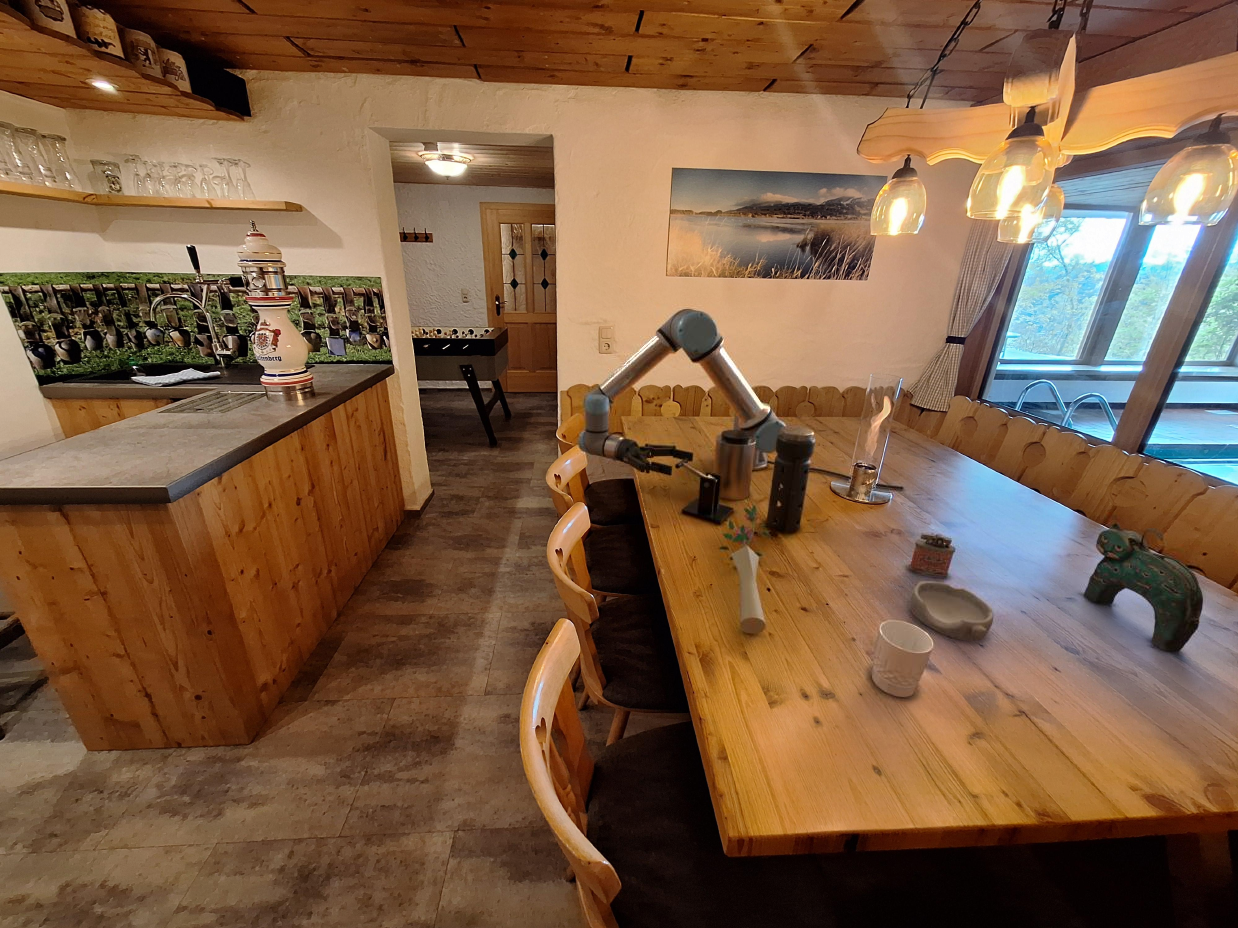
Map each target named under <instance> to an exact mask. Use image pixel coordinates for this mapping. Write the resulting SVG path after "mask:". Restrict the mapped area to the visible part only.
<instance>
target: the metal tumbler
mask: <svg viewBox="0 0 1238 928" xmlns="http://www.w3.org/2000/svg"><path fill="white" fill-rule="evenodd" d="M755 443H756V440H755V439H754V438H753V437H751V434H750V433H748V432H745V431H741V430H733V429H725V430H723V431H721V433H720V434H718V435H717V436H716V437H715V445H714V456H713V457H714V458H713V466H712V467H713V468H712V473H716V474H720V475H722V477H721V487H720V497H719V499H724V500H731V501H738V500H745V499H747V498H748V497H749V496H750V490H751V484H752V476H753V475H752V474H753V470H752V468H753V460H754V452H755Z"/></svg>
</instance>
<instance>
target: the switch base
mask: <svg viewBox="0 0 1238 928" xmlns="http://www.w3.org/2000/svg"><path fill="white" fill-rule="evenodd" d="M709 475H711V476H713V477H714V478H716V479H718V480H717V482H716V479H713V478H709V477H705V476H709ZM705 476H701V477H699V491H698V497H696V498H695V499H693V500H692V501H691V502H690V503H688V504H687V505H686V506H685V507H683V508H682V509H681V514H682V515H685V516H688V517H691V518H694V519H699V520H701V521H705V522H708V523H712V524H715V525H718V526H721V525H722V524H723V523H724V522H725V521H726V520H727V519H728V518H729V517H730V516H731V515H732V514H733V513H734V512H735V511H734V509H735V508H734V507H732V506H728V505H724V504H721V503H720V487H721V477H722V475H720V474H716V473H713V471H706V473H705Z"/></svg>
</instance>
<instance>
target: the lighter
mask: <svg viewBox="0 0 1238 928" xmlns="http://www.w3.org/2000/svg"><path fill="white" fill-rule="evenodd" d="M952 541H953V539H952V537H947V536H943V535H942V534H941V533H937V534H931V533H925V532H922V533H921V535H920V539H916V540H915V543H914V545H915V546H914V550H913V554H912V557H911V561H910V564H909V565H908V570H909V572H911V573H914V574H918V575H922V576H927V577H933V578H940V579H946V578H948V576H949V569H950V566H951V562H952V561H953V560H952V559H953V556H954V553H955V552H956V546H953V545H952Z"/></svg>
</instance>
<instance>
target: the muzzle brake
mask: <svg viewBox="0 0 1238 928" xmlns="http://www.w3.org/2000/svg"><path fill="white" fill-rule="evenodd" d="M814 434H815V433H814V431H813V429H811V428H808V427H805V426H800V425H786V426H785V427H782V428H781V433H779V434H778V436H777V441H776V448H775V449H776V451H775V452H776V454H777V455H775V458H774V462H775V463H774V465H773V472H772V479H771V485H770V492H769V493H770V494H769V500H768V506H767V513H766V522H765V526H766V527H768V528H769V529H770V530H772V531H773V532H777V533H780V534H794V533H797V532H798V531H800V528H801V523H802V515H803V510H804V505H805V498H806V493H807V492H806V491H807V486H808V480H809V475H810V470H809V469H810V468H811V459H810V458H812V456H813V455H814V453H815V447H816V439H815V436H814ZM778 504H780V505H778ZM776 520H777V522H776Z"/></svg>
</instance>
